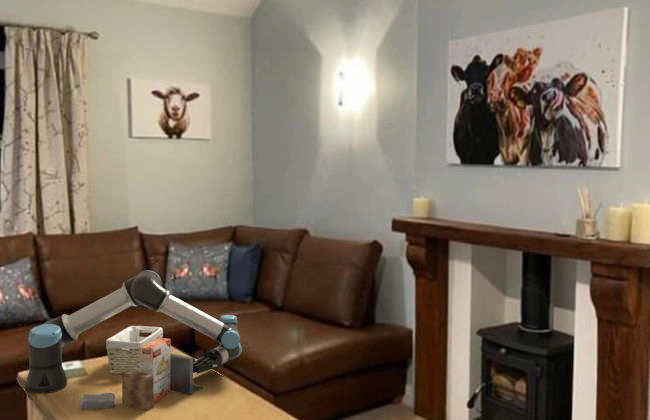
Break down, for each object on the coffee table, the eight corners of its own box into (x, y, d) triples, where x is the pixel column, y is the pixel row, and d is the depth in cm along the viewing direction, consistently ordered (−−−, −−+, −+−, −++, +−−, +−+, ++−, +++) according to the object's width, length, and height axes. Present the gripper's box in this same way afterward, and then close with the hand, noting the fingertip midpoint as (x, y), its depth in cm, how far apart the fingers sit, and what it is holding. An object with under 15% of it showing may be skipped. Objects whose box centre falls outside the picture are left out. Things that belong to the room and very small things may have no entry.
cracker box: (154, 404, 233) (153, 348, 231) (139, 403, 234) (138, 347, 232) (172, 391, 246) (171, 338, 245) (157, 389, 248) (157, 336, 246)
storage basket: (141, 377, 262) (140, 342, 261) (104, 374, 264) (103, 339, 263) (164, 359, 285) (164, 326, 284) (130, 357, 288) (130, 325, 287)
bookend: (161, 388, 248) (160, 353, 247) (174, 382, 256) (174, 348, 254) (190, 395, 242) (189, 359, 241) (202, 388, 249) (202, 353, 248)
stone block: (82, 406, 235) (79, 411, 226) (82, 392, 236) (79, 397, 226) (116, 404, 238) (114, 409, 229) (116, 391, 239) (114, 395, 229)
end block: (122, 404, 233) (122, 372, 232) (128, 401, 235) (128, 369, 234) (147, 410, 227) (147, 377, 226) (153, 407, 230) (153, 375, 229)
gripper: (202, 346, 270) (165, 362, 249) (228, 351, 265) (192, 367, 244) (202, 364, 271) (165, 381, 250) (228, 368, 265) (192, 386, 244)
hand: (179, 374), depth 247 cm, fingers closed
